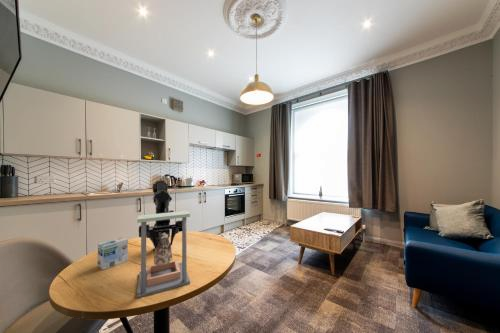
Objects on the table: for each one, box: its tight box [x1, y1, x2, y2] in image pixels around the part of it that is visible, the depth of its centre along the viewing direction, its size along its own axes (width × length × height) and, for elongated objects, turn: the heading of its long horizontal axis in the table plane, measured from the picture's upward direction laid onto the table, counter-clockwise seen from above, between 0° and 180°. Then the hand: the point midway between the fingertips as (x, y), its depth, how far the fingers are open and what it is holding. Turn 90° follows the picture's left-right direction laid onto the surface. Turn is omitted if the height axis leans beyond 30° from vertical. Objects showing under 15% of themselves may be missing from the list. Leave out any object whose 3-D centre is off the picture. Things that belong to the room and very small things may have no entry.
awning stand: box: [136, 210, 191, 299], centre depth 78 cm, size 18×18×27 cm
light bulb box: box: [97, 237, 129, 271], centre depth 91 cm, size 11×7×11 cm, turn 148°
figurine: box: [153, 232, 173, 265], centre depth 80 cm, size 7×7×12 cm
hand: (163, 246), depth 79 cm, fingers closed on figurine, 6 cm apart
